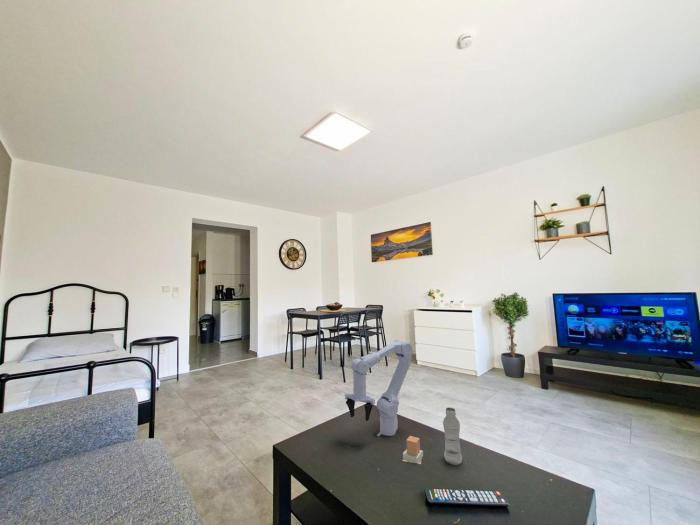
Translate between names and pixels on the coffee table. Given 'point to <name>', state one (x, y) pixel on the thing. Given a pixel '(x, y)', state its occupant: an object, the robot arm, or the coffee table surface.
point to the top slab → (413, 457)
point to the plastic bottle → (452, 438)
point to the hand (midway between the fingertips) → (359, 418)
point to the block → (413, 445)
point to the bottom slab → (413, 462)
